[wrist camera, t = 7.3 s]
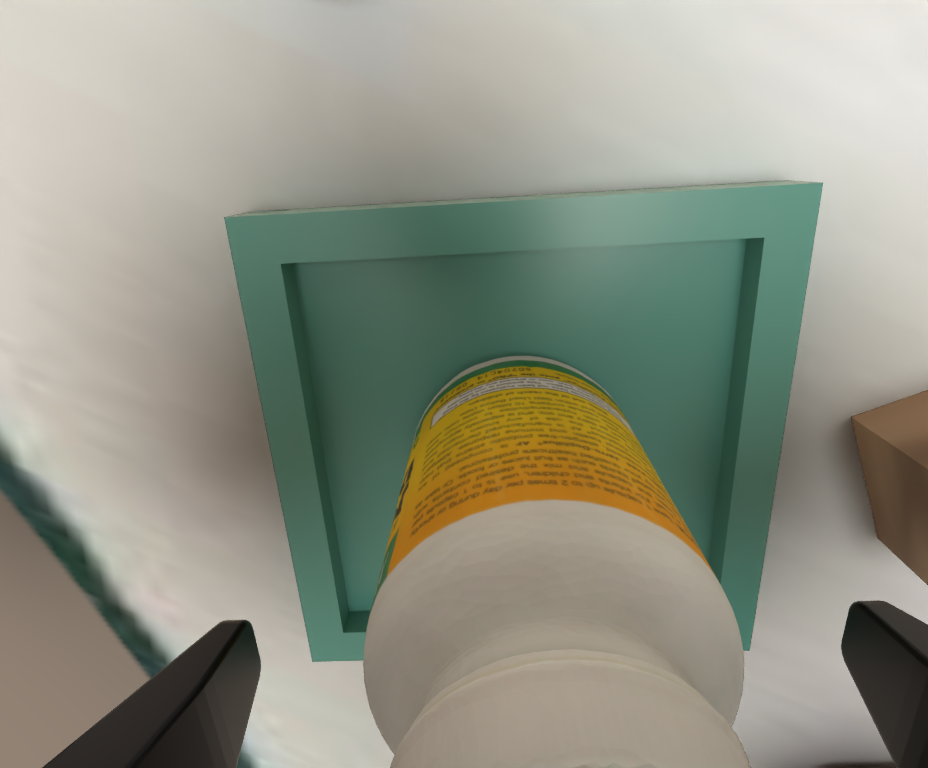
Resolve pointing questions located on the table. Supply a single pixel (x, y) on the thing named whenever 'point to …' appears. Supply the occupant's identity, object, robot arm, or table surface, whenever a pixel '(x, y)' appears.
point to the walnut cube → (898, 476)
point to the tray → (523, 353)
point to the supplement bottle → (546, 591)
